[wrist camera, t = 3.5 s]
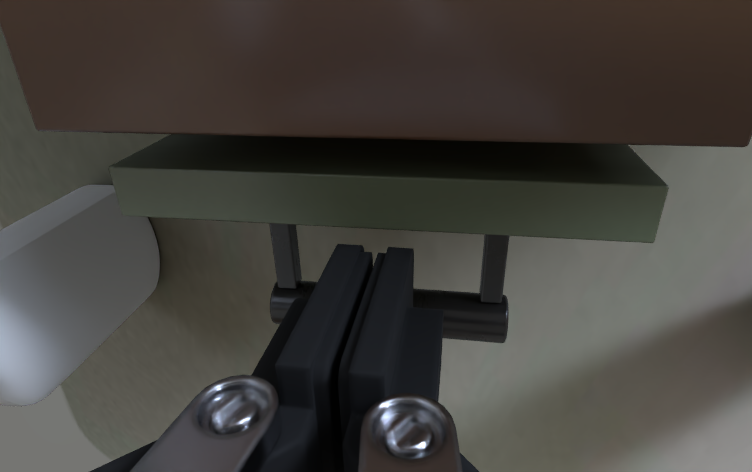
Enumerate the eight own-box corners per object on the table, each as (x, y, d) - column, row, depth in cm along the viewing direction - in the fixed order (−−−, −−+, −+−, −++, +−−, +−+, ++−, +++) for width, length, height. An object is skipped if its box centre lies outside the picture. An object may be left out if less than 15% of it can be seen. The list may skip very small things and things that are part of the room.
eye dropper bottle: (71, 260, 24) (-245, 483, 13) (92, 164, 21) (-285, 349, 10) (153, 301, 24) (-89, 552, 13) (184, 213, 21) (-88, 439, 11)
